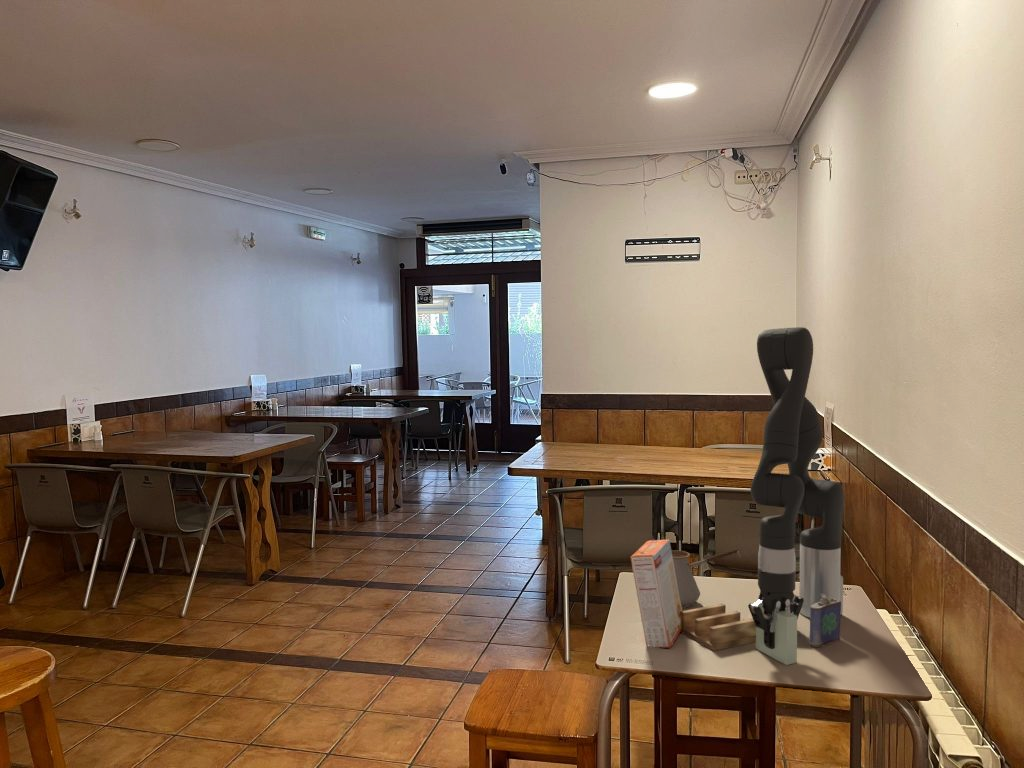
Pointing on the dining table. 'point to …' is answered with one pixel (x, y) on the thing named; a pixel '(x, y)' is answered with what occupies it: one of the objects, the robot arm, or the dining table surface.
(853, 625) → the dining table surface
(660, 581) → the cracker box
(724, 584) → the dining table surface
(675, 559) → the coffee pot
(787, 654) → the sage green tall prism
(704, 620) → the rack
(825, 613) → the flask
